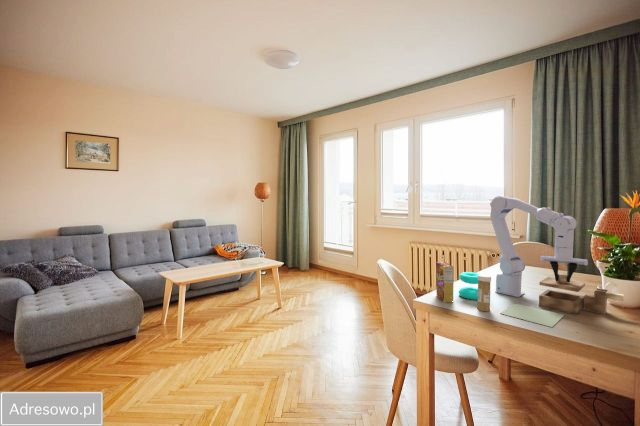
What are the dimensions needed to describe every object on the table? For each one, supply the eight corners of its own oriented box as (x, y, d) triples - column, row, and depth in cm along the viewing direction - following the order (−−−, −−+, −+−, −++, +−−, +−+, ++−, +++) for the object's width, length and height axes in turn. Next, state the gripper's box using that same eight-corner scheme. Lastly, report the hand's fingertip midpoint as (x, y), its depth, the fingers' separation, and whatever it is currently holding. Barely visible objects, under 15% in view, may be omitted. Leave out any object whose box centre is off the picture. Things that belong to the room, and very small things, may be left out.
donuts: (471, 278, 130) (454, 272, 139) (471, 301, 131) (453, 294, 140) (490, 275, 133) (471, 270, 143) (489, 298, 134) (470, 292, 143)
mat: (500, 313, 117) (500, 313, 117) (515, 304, 127) (515, 303, 127) (552, 327, 105) (552, 326, 105) (564, 315, 115) (564, 314, 115)
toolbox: (538, 306, 125) (539, 295, 124) (547, 299, 133) (547, 289, 132) (577, 315, 116) (577, 303, 115) (584, 307, 123) (584, 296, 123)
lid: (539, 284, 124) (539, 274, 124) (548, 279, 132) (548, 269, 132) (578, 292, 115) (578, 280, 115) (585, 285, 123) (585, 275, 123)
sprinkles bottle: (490, 312, 119) (491, 277, 118) (476, 310, 121) (477, 275, 120) (490, 308, 123) (491, 274, 122) (477, 306, 125) (478, 273, 124)
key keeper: (583, 309, 121) (584, 288, 120) (585, 307, 123) (586, 286, 123) (604, 314, 116) (605, 291, 116) (606, 311, 119) (607, 289, 118)
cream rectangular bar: (593, 295, 119) (594, 290, 119) (594, 294, 120) (595, 289, 120) (623, 301, 113) (623, 295, 113) (623, 300, 114) (624, 294, 114)
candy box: (435, 295, 138) (436, 261, 137) (445, 295, 138) (445, 261, 137) (443, 302, 129) (443, 266, 128) (453, 302, 129) (454, 266, 128)
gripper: (585, 247, 122) (584, 281, 123) (540, 244, 130) (539, 276, 131) (589, 249, 116) (587, 285, 117) (541, 246, 124) (540, 280, 125)
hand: (562, 281), depth 123 cm, fingers closed on lid, 3 cm apart
